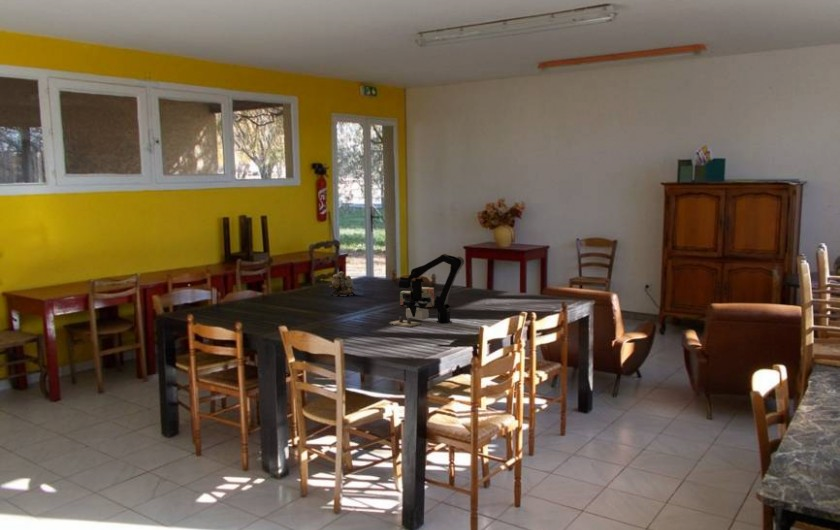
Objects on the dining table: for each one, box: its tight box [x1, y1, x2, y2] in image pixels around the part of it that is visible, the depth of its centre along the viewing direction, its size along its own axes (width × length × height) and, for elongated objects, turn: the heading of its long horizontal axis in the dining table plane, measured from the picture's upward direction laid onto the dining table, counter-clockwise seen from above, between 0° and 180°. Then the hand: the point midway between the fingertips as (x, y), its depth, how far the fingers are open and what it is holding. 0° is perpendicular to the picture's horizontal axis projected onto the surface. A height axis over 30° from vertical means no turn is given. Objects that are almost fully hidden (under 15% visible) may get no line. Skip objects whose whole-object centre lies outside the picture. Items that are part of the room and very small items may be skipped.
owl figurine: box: [329, 271, 356, 296], centre depth 500 cm, size 18×12×17 cm, turn 105°
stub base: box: [388, 315, 422, 328], centre depth 402 cm, size 15×10×4 cm, turn 50°
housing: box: [405, 307, 430, 321], centre depth 411 cm, size 12×6×5 cm, turn 50°
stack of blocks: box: [399, 286, 435, 308], centre depth 457 cm, size 21×6×12 cm, turn 74°
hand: (417, 315), depth 411 cm, fingers closed on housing, 6 cm apart
